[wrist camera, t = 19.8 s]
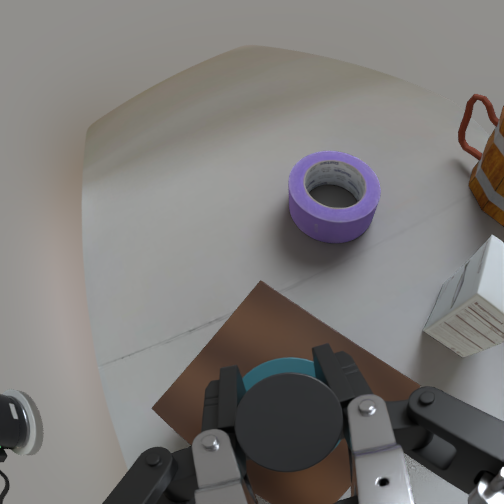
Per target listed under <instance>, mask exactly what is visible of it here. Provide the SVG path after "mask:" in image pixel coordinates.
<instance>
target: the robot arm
mask: <svg viewBox="0 0 504 504" xmlns="http://www.w3.org/2000/svg"><path fill="white" fill-rule="evenodd" d="M312 355H313V362H314V369H315V375H316V378H317V379H319V380H320V381H322V382H323V383H325V384H326V385H327V386H328V387H329V388H330V389H331V390H332V391H333V392H334V394H335V395H336V397H337V398H338V400H339V402H340V405H341V408H342V413H343V429H342V433H341V436H340V439H339V440H341V439H345V440H346V442H347V445H348V459H349V470H350V482H351V497H350V498H346V499H343V500H340V501H337V502H335V503H333V504H415V502H414V497H413V492H412V488H411V483H410V478H409V474H408V470H407V465H406V461H405V457H404V453H405V454H407V455H408V456H410V457H411V458H412V459H414V460H415V461H417V462H418V463H420V464H421V465H423V466H424V467H426V468H427V469H429V470H430V471H432V472H433V473H435V474H436V475H438V476H440V477H441V478H443V479H444V480H446V481H447V482H449V483H451V484H452V485H454V486H455V487H457V488H459V489H460V490H462V491H464V492H465V493H467V494H468V495H469V497H468V504H504V421H502V420H499V419H497V418H495V417H493V416H491V415H489V414H487V413H485V412H483V411H481V410H479V409H477V408H475V407H473V406H471V405H469V404H467V403H465V402H463V401H461V400H459V399H457V398H455V397H453V396H451V395H449V394H447V393H445V392H443V391H441V390H439V389H437V388H435V387H421V388H418V389H416V390H415V391H413V392H412V393H411V395H410V396H409V399H407V400H400V401H385V400H383V399H382V398H381V397H379V396H377V395H374V394H373V392H372V390H371V389H370V387H369V385H368V383H367V382H366V380H365V378H364V377H363V375H362V373H361V372H360V371H359V368H358V366H357V365H356V363H355V361H354V360H353V358H352V356H350V355H349V354H347V353H346V352H344V351H340V352H337V353H334V352H333V351H332V349H331V347H330V345H329V343H327V344H323V345H320V346H316V347H312ZM245 393H246V389H245V386H244V383H243V380H242V377H241V374H240V371H239V368H238V366H237V365H233V366H227V367H222V368H220V376H219V380H213V381H210V383H209V384H208V386H207V387H206V389H205V396H204V399H205V400H204V407H203V416H202V426H201V433H200V434H198V435H197V436H196V437H195V438H194V440H193V442H192V445H191V446H190V447H188V448H185V449H183V450H180V451H176V452H173V453H170V452H169V451H168V450H167V449H165V448H162V447H153V448H150V449H148V450H146V451H144V452H143V453H142V454H141V455H140V456H139V458H138V459H137V460H136V461H135V463H134V464H133V465H132V467H131V468H130V469H129V471H128V472H127V473H126V474H125V476H124V477H123V478H122V480H121V481H120V482H119V483H118V485H117V486H116V487H115V488H114V490H113V491H112V492H111V493H110V495H109V496H108V497H107V499H106V500H105V501H104V502H103V503H102V504H195V503H196V504H258V501H257V499H256V496H255V493H254V490H253V488H252V485H251V482H250V479H249V476H248V473H247V468H246V461H247V460H251V459H250V458H249V457H248V456H247V455H246V454H245V453H244V452H243V450H242V449H241V447H240V445H239V443H238V441H237V438H236V435H235V429H234V420H235V413H236V410H237V407H238V405H239V403H240V401H241V399H242V397H243V396H244V395H245ZM29 437H30V424H29V419H28V415H27V412H26V410H25V408H24V406H23V404H22V403H21V402H20V401H19V400H18V399H17V398H16V397H13V396H6V395H2V394H0V462H4V461H5V459H6V458H7V454H6V453H5V451H4V449H14V448H23V447H25V446H26V445H27V443H28V441H29ZM403 452H404V453H403ZM0 475H1V476H2V477H3V478H4V480H5V487H4V489H3V491H2V493H1V494H0V504H3V499H4V498H5V496H6V494H7V493H8V490H9V487H10V484H9V479H8V477H7V476H6V475H5V474H4V473H3V472H2V471H1V470H0Z"/></svg>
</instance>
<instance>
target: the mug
mask: <svg viewBox="0 0 504 504" xmlns="http://www.w3.org/2000/svg"><path fill="white" fill-rule="evenodd" d="M477 100H480V101H482V102H483V104H484V105H485V106H486V109H487V113H488V116H489V119H490V121H491V122H492V123H493V124H494V125H495V126H496V128H495V129H494V131H493V133H492V134H491V136H490V137H489V139H488V141H487V144H486V147H485V150H484V152H483V154H482V153H481V152H479V151H478V150H476V149H475V148H473V147H471V146H469V145H468V143H467V142H466V140H465V131H466V129H467V126H468V123H469V121H470V118H471V115H472V110H473V105H474V103H475V102H476V101H477ZM458 141H459V143H460V145H461V147H462V148H463V150H464V151H466V152H468V153H469V154H471V155H472V156H474V157H475V158H476V159H478V160H479V161H478V163H477V164H476V165H475V167H474V168H473V170H472V174H471V178H470V181H469V187H470V189H471V191H472V192H473V194H474V196H475V198H476V200H477V202H478V204H479V206H480V208H481V210H483V211H484V212H485V213H487V214H488V215H489V216H491V217H492V218H493V219H495V220H496V221H497V222H499V223H500V224H501V225H502V226H504V106H503V109H502V112H501V116H500V119H498V118H497V117H496V115H495V112H494V109H493V106H492V104H491V102H490V101H489V100H488V98H487V97H485V96H482V95H478V94H474V95H473V96H472V97H471V98H470V100H469V101H468V102H467V105H466V110H465V113H464V117H463V119H462V122H461V125H460V128H459V131H458Z"/></svg>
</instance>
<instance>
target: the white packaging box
mask: <svg viewBox="0 0 504 504" xmlns="http://www.w3.org/2000/svg"><path fill="white" fill-rule="evenodd" d="M423 331H424V332H426V333H427V334H428V335H430V336H431V337H433V338H434V339H436V340H437V341H439V342H441V343H442V344H443V345H445V346H446V347H448V348H449V349H451V350H452V351H454V352H455V353H457V354H458V355H460V356H461V357H466V356H469V355H472V354H475V353H477V352H480V351H483V350H485V349H488V348H490V347H493V346H495V345H498V344H500V343H502V342H504V243H503V242H502V241H501V240H500V239H498V238H497V237H495V236H494V235H491V236H490V238H489V239H488V240H487V241H486V242H485V243H484V244H483V245H482V246H481V247H480V248H479V250H478V251H477V252H476V253H475V254H474V255H473V256H472V257H471V258H470V259H469V260H468V261H467V262H466V263H465V264H464V265H463V266H462V267H461V268H460V269H459V270H458V271H457V272H456V273H455V274H453V275H452V276H451V277H450V278H449V279H448V280H447V281H446V282H445V283H444V284H443V286H442V289H441V292H440V294H439V297H438V300H437V302H436V304H435V307H434V309H433V311H432V313H431V315H430V317H429V319H428V321H427V323H426V325H425V327H424V329H423Z"/></svg>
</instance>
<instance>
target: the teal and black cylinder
mask: <svg viewBox="0 0 504 504" xmlns="http://www.w3.org/2000/svg"><path fill="white" fill-rule="evenodd" d="M242 380H243V383H244V386H245V389H246V393H245V395H244V396H243V397H242V399H241V401H240V403H239V405H238V407H237V410H236V413H235V420H234V429H235V435H236V438H237V441H238V443H239V445H240V447H241V449H242V450H243V452H244V453H245V454H246V455H247V456H248V457H249V458H250V459H251V460H252V461H253V462H255V463H256V464H258V465H260V466H262V467H264V468H266V469H269V470H272V471H277V472H297V471H301V470H305V469H308V468H310V467H313V466H314V465H316V464H318V463H320V462H321V461H322V460H324V459H325V458H326V457H327V456H328V455H329V454H330V453H331V452H332V451H333V450H334V449H335V448H336V447H337V445H338V444H339V443H340V441H341V440H339V439H340V436H341V433H342V429H343V413H342V408H341V405H340V402H339V400H338V398H337V397H336V395H335V394H334V392H333V391H332V390H331V389H330V388H329V387H328V386H327V385H326V384H325V383H323V382H322V381H320V380H319V379H317V378H316V375H315V369H314V362H313V361H310V360H307V359H302V358H293V357H287V358H278V359H274V360H270V361H267V362H265V363H263V364H260V365H259V366H257V367H255V368H253V369H252V370H251V371H249V372H248V373H247V374H246V375H245V376H244V377H243V378H242Z"/></svg>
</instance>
